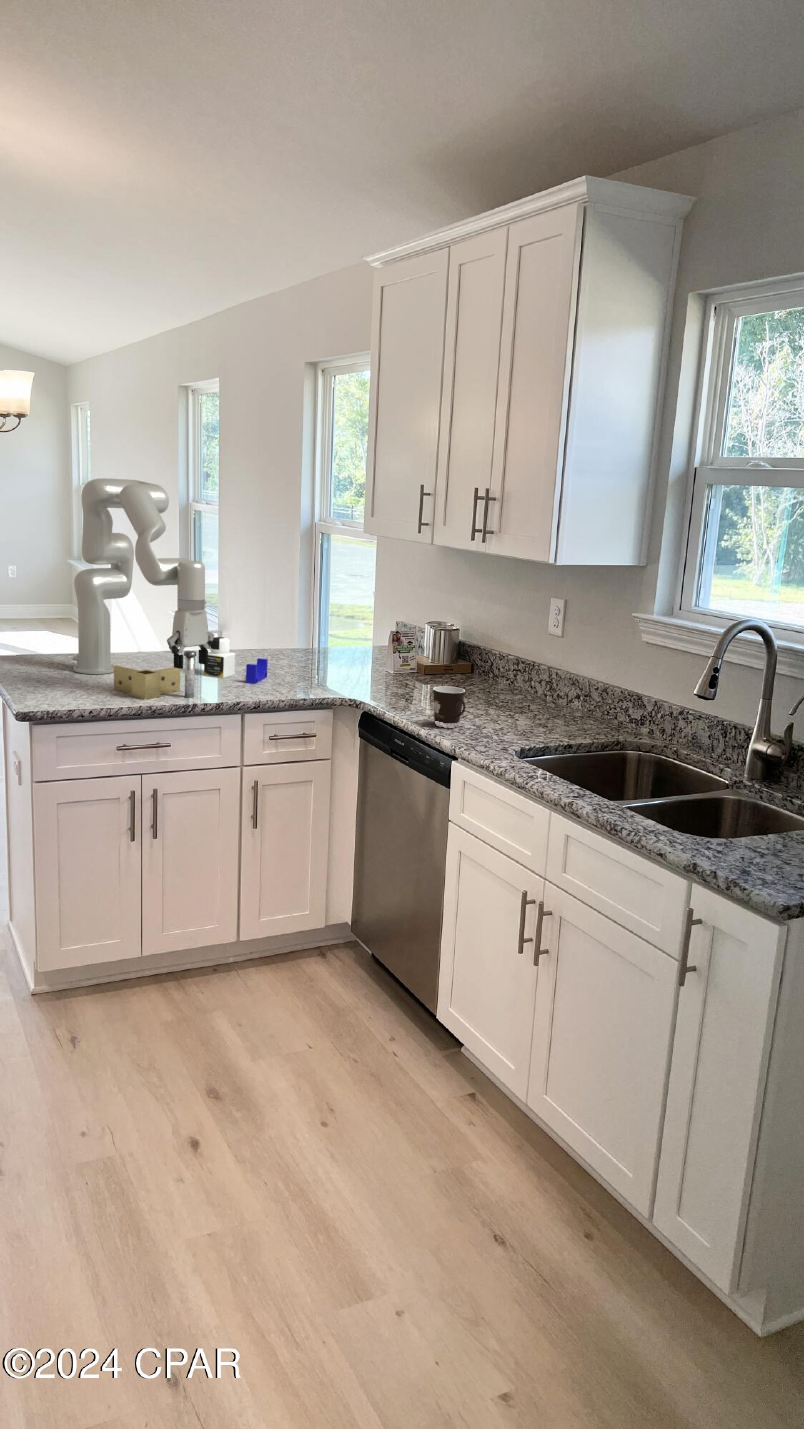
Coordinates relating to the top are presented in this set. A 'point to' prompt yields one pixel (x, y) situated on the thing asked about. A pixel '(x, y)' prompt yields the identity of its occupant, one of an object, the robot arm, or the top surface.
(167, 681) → the hinge
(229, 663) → the medicine bottle
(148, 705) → the top surface
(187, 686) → the pin
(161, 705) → the top surface
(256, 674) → the cable clip
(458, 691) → the coffee mug
